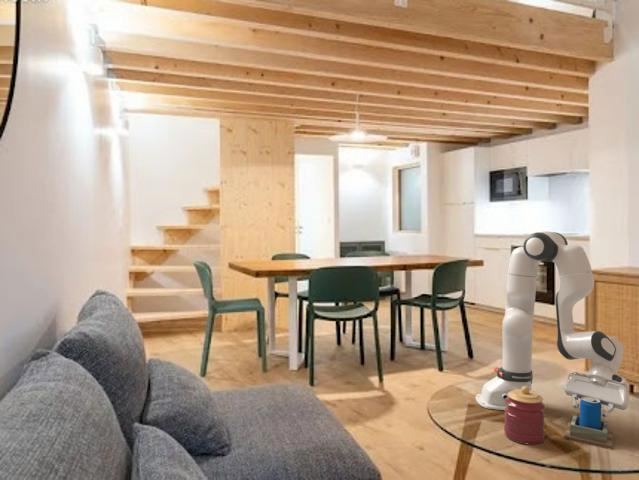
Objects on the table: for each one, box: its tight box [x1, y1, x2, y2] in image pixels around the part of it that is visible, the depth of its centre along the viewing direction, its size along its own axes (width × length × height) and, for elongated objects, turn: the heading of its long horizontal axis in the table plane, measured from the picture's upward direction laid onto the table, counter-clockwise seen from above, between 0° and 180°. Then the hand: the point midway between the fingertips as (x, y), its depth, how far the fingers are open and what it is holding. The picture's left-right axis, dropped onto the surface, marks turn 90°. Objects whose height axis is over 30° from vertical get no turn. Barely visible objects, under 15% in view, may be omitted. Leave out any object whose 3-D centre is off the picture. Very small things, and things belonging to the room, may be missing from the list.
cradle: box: [564, 414, 614, 450], centre depth 171 cm, size 14×14×4 cm
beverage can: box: [579, 397, 602, 430], centre depth 171 cm, size 6×6×12 cm
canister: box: [503, 386, 547, 445], centre depth 170 cm, size 13×13×18 cm
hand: (589, 411), depth 171 cm, fingers open, 8 cm apart
